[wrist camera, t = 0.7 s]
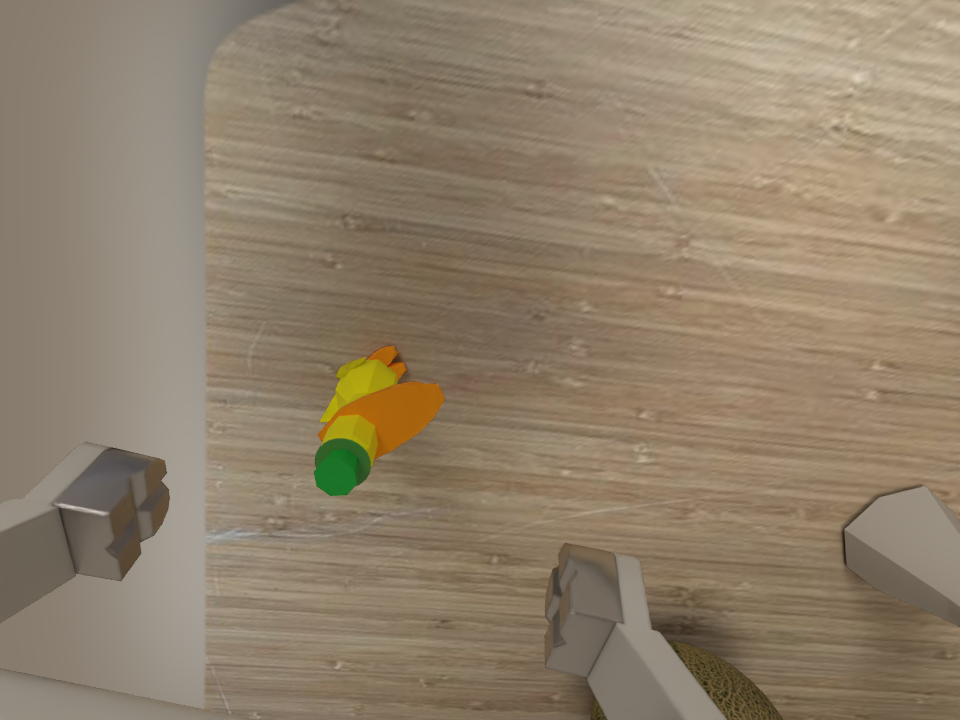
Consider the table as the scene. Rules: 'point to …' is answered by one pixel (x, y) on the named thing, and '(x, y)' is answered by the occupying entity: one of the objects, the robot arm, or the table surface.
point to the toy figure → (370, 419)
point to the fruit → (719, 686)
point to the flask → (909, 551)
